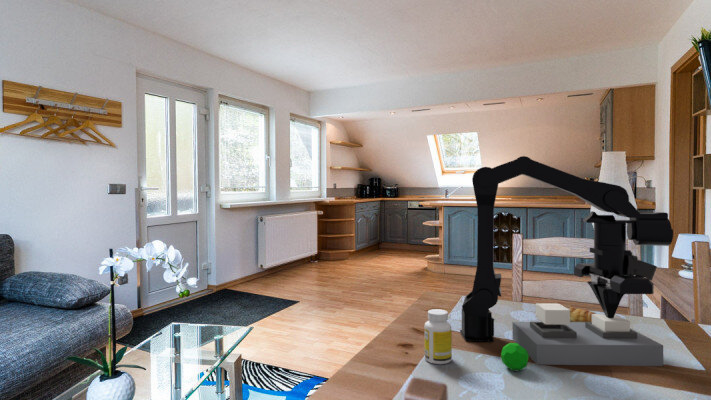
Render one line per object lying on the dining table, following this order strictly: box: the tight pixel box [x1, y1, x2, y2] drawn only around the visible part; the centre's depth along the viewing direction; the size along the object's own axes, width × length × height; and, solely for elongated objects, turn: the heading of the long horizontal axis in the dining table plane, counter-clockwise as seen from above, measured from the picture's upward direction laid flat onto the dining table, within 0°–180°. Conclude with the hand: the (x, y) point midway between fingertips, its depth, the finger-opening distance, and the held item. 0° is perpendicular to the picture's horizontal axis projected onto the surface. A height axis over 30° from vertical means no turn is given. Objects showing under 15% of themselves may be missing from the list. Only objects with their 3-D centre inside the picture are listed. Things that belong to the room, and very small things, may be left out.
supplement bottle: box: [423, 308, 453, 365], centre depth 82 cm, size 5×5×10 cm
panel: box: [511, 321, 664, 367], centre depth 85 cm, size 24×14×5 cm, turn 87°
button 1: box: [535, 303, 570, 325], centre depth 85 cm, size 5×5×3 cm
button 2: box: [592, 313, 631, 332], centre depth 85 cm, size 5×5×3 cm
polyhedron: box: [500, 342, 530, 372], centre depth 77 cm, size 5×5×5 cm
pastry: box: [568, 306, 597, 322], centre depth 103 cm, size 9×7×4 cm
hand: (609, 317), depth 85 cm, fingers closed, pressing on button 2
